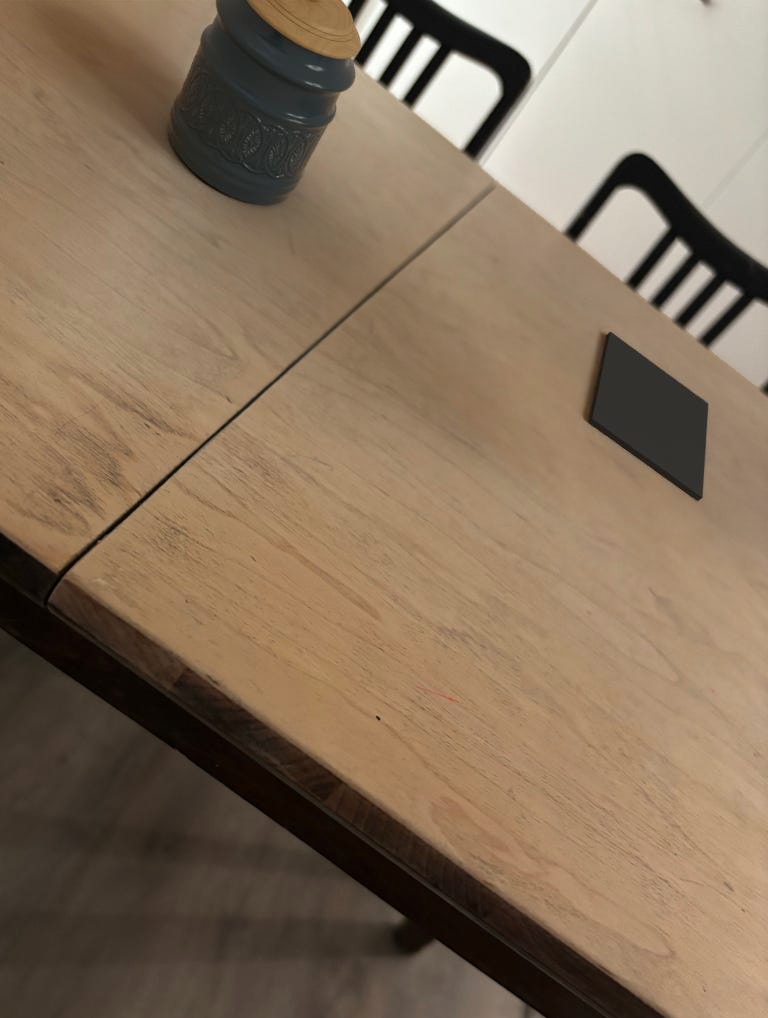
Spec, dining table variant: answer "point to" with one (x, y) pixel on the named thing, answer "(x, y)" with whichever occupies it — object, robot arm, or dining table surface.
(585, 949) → the dining table surface
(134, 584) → the dining table surface
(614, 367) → the mat
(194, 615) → the dining table surface
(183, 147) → the canister
